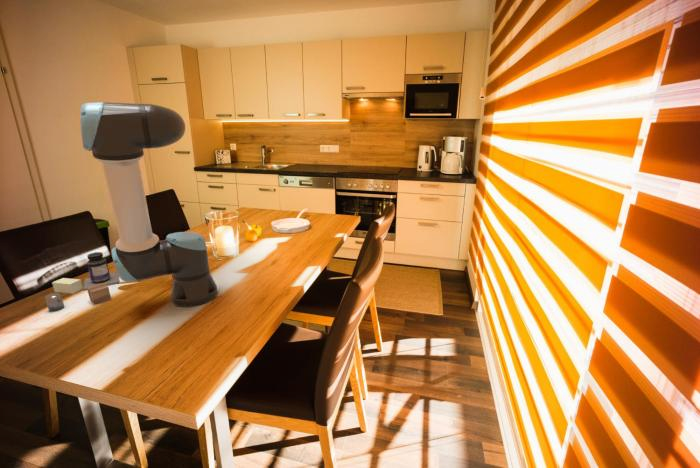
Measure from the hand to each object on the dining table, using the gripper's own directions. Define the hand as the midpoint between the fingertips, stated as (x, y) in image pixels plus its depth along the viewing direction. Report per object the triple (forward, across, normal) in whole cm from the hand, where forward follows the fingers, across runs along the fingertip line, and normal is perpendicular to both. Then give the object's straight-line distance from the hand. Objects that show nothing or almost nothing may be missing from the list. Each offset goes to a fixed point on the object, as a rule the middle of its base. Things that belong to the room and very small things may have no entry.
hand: (134, 202), depth 136 cm
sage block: (+29, -8, +26) cm, 40 cm away
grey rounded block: (+29, -23, +28) cm, 46 cm away
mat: (+29, -6, +16) cm, 33 cm away
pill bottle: (+28, -6, +16) cm, 33 cm away
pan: (+29, +27, -83) cm, 92 cm away
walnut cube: (+29, -24, +16) cm, 41 cm away
